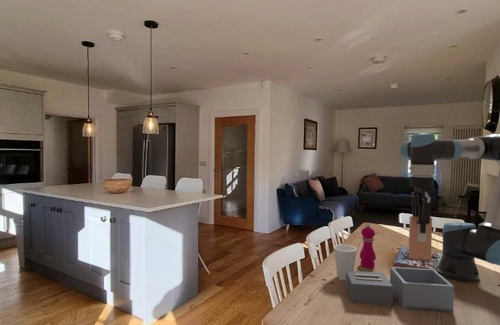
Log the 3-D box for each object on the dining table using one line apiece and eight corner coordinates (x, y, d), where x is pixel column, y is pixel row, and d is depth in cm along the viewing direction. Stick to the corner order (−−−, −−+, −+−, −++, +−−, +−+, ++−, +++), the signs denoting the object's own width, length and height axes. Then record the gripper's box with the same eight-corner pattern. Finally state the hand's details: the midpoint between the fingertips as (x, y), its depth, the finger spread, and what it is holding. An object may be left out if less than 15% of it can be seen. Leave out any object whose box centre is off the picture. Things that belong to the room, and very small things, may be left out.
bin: (433, 292, 117) (434, 269, 116) (453, 312, 102) (454, 286, 102) (389, 289, 119) (390, 266, 119) (403, 308, 104) (403, 283, 104)
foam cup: (338, 271, 137) (339, 243, 136) (359, 276, 131) (359, 247, 130) (330, 278, 129) (330, 248, 129) (351, 284, 123) (351, 253, 123)
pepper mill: (377, 269, 140) (377, 226, 139) (360, 267, 141) (361, 225, 140) (374, 263, 147) (374, 222, 146) (358, 262, 148) (359, 222, 147)
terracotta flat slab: (429, 257, 110) (430, 217, 110) (431, 259, 109) (432, 218, 108) (408, 256, 111) (409, 216, 111) (410, 258, 110) (411, 217, 109)
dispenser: (382, 290, 118) (383, 271, 118) (392, 305, 106) (393, 284, 106) (346, 287, 120) (346, 269, 120) (351, 302, 108) (351, 282, 108)
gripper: (403, 174, 117) (402, 234, 117) (418, 177, 102) (417, 246, 103) (424, 174, 116) (422, 235, 116) (442, 178, 101) (440, 247, 102)
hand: (420, 240), depth 110 cm, fingers closed on terracotta flat slab, 2 cm apart
